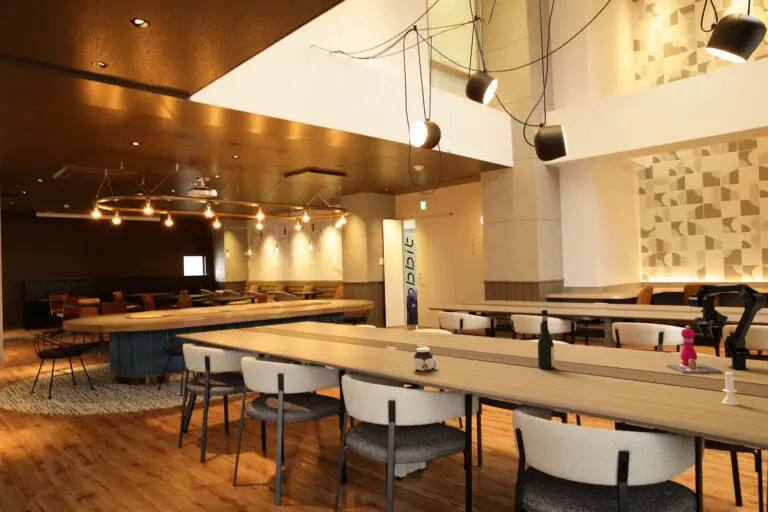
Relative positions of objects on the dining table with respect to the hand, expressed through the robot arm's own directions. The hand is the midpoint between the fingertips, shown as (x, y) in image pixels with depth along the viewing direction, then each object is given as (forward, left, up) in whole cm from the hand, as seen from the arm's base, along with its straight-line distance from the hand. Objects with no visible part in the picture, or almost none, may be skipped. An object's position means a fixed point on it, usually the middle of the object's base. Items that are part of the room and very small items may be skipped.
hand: (709, 338), depth 275 cm
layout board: (-15, +16, -13) cm, 25 cm away
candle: (-78, +33, -13) cm, 86 cm away
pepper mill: (-11, +16, -12) cm, 22 cm away
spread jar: (-8, +147, -13) cm, 148 cm away
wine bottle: (-7, +85, -13) cm, 86 cm away
